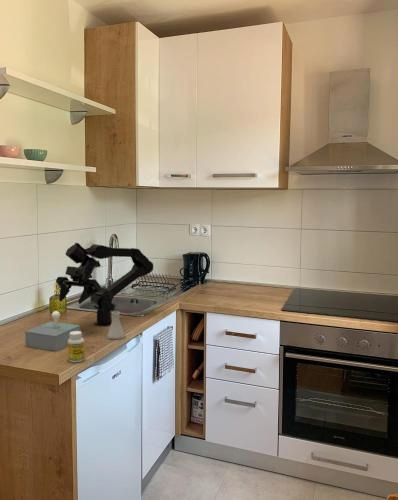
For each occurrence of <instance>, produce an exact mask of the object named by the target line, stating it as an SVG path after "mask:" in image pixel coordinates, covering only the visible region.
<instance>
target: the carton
mask: <svg viewBox="0 0 398 500" xmlns="http://www.w3.org/2000/svg"><path fill="white" fill-rule="evenodd" d="M40 326H41V325H38V326H36V327H34V328H30V329H28V330H25V331H24V334H25V335H24V336H25V337H24V338H25V340H24V341H25V347H28V348H35V349H40V350H46V351H51V352H52V351H53V352H58V351H59V350H62V349H63V348H66V347H68V340H69V339H70V332H73V331H81V326H80V327H79V328H76V329H74V330H72V331H70V332H68V330H61V329H54V328H47V327H40Z"/></svg>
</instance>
